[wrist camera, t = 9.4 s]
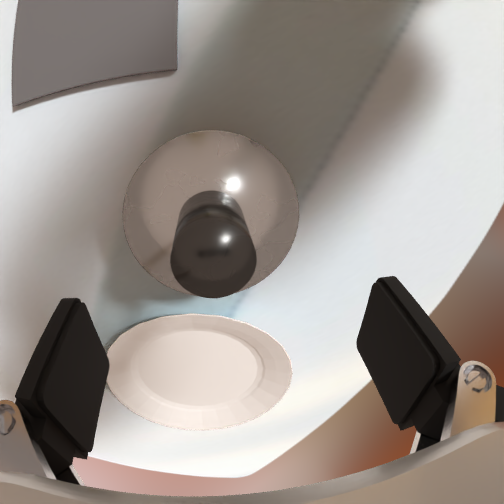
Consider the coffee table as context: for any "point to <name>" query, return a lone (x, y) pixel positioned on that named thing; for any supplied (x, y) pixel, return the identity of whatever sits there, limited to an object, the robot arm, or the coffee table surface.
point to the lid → (210, 213)
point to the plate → (198, 371)
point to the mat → (89, 43)
